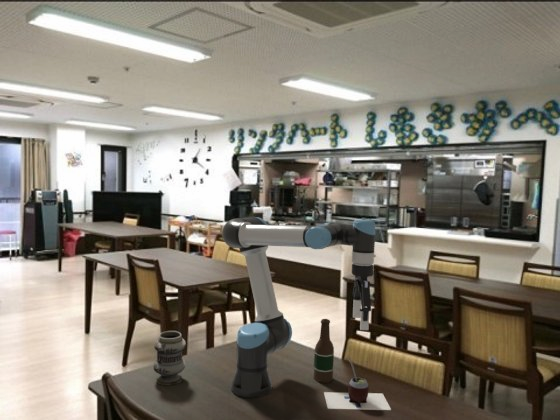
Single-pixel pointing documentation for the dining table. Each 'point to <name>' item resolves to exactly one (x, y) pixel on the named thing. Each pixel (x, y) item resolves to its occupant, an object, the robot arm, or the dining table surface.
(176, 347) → the apothecary jar
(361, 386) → the mate gourd
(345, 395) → the letter card
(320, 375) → the beer bottle
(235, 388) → the robot arm
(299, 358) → the dining table surface
